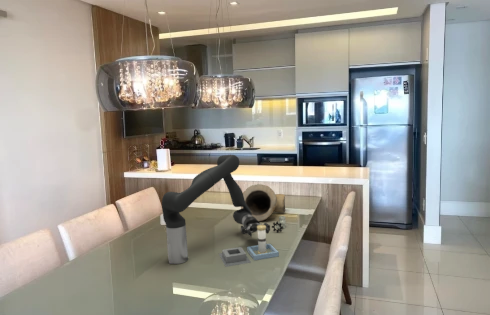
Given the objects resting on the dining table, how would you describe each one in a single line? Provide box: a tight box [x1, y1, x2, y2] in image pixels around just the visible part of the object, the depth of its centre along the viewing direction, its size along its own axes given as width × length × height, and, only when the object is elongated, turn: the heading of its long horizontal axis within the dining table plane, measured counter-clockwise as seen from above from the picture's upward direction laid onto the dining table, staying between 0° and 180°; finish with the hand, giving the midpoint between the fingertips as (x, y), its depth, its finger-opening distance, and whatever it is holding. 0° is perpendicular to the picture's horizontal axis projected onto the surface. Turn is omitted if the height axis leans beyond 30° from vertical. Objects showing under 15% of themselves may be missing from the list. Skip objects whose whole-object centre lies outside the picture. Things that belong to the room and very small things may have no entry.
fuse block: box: [218, 246, 252, 268], centre depth 173 cm, size 12×16×4 cm
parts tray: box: [246, 243, 280, 261], centre depth 177 cm, size 12×12×4 cm
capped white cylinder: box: [257, 224, 268, 254], centre depth 176 cm, size 4×4×14 cm
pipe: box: [240, 183, 286, 222], centre depth 245 cm, size 23×29×30 cm
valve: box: [271, 215, 287, 234], centre depth 214 cm, size 7×7×12 cm
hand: (259, 232), depth 179 cm, fingers open, 8 cm apart
